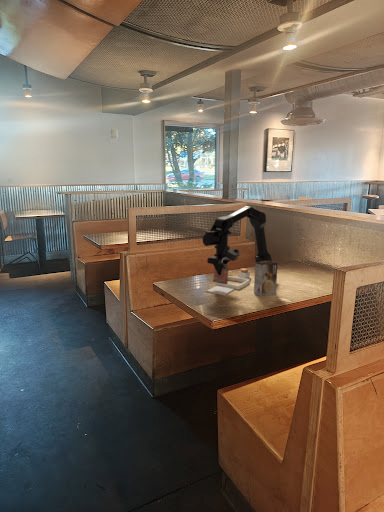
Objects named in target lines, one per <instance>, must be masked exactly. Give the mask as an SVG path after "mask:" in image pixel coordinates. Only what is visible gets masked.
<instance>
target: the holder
mask: <svg viewBox="0 0 384 512" xmlns="http://www.w3.org/2000/svg"><path fill="white" fill-rule="evenodd" d="M250 273H251V271H250V270H248V272H247V273H244V272H241V271H238V277H237V276H231V275H228V280H227V281H232V282H239V283H240V284H233V283H228V284H221V283H216V282H215V286H221V287H226V288H231V289H234V290H239V291H240V290H241V289H243V288H244V287H246V286H248V285H249V284H250V283H251V280H252V277H251V276H250Z"/></svg>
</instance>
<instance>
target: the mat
mask: <svg viewBox="0 0 384 512" xmlns="http://www.w3.org/2000/svg"><path fill="white" fill-rule="evenodd" d="M234 290H235V289H233V288H227V287H222V286H217V285H215V286H213V287H211V288H208V289H207V290H206V292H207V293H211V294H215V295H216V294H217V295H221V296H226V295H228V294H230V293H232V292H233V291H234Z"/></svg>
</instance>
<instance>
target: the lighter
mask: <svg viewBox="0 0 384 512" xmlns="http://www.w3.org/2000/svg"><path fill="white" fill-rule="evenodd" d="M227 266H228V263H227V264H223V265H222V269H221V275H218V273H217V271H216V269H215V267H214V266H213V279H212V282H214V283H215V284H216V283H221V284H228V282H229V280H228V276H229V270H230V269H229V268H228V267H227Z"/></svg>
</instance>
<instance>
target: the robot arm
mask: <svg viewBox="0 0 384 512" xmlns="http://www.w3.org/2000/svg"><path fill="white" fill-rule="evenodd" d="M244 218H248V219H249V223H250V225H251V226H252V227H253V229H254V236H255V241H256V248H257V255H255V256H254V259H255V262H260V261H268V260H270V261H273V258H272V255H271V254H270V253H269V251H268V248H267V241H266V239H267V238H266V234H265V226H266V222H267V215H266V213H265V212H263V211H260V210H259V209H258V210H257V209H255V208H254V207H252V206H249V205H248V206H246V205H245V206H243V207H242V208H240V209H237V210H236V211H233V213H230V214H229V215H223V216H219V217H217V218H216V219H215V220H214V222H213V225H212V226H211V228H210V230H209V231H205V234H204V235H203V236H202V243H203V245H204V246H206V247H210V246H211V247H212V246H214V249H215V253H214V254H213V255H212V256H210V257H208V258H207V260H206V262H207V264H211V265H213V268H214V267H215V269H216V271H217V273H218V275H221V269H222V265H223V264H227V265H228V264H229V262H230V261H233V262H235V261H237V260H238V257H240V250H239V249H238V248H235V249H231V247H230V245H229V243H228V242H229V235H231V234H232V232H231V231H230V229H231V228H233V225H234V224H236V223H237V222H239V221H241V220H242V219H244Z"/></svg>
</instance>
